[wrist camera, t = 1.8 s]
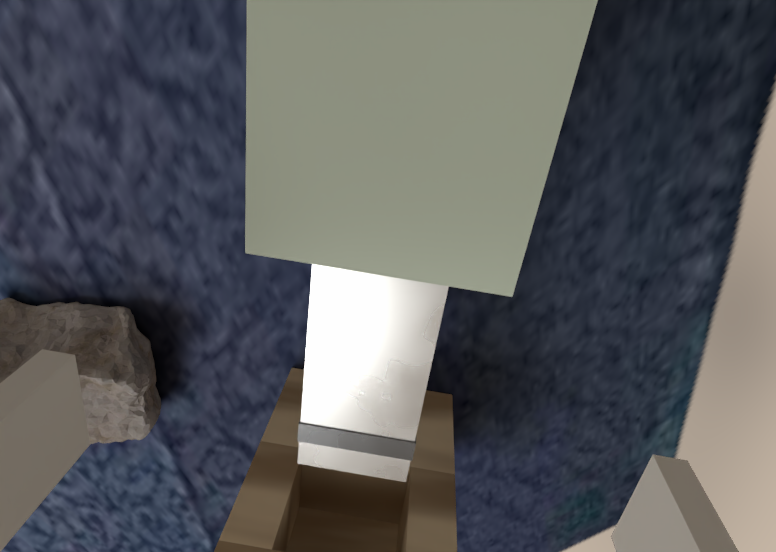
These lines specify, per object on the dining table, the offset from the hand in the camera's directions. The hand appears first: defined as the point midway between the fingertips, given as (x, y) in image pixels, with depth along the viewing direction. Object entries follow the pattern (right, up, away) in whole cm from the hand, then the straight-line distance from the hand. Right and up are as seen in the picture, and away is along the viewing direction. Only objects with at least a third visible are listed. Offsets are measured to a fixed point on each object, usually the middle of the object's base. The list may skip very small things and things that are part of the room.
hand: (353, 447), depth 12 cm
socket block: (0, -4, +17) cm, 18 cm away
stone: (-16, 0, +17) cm, 24 cm away
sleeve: (+2, +13, +8) cm, 16 cm away
